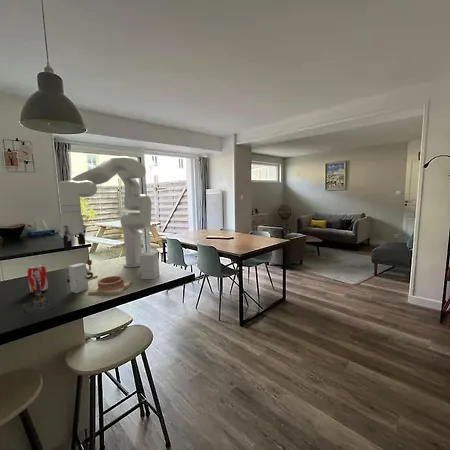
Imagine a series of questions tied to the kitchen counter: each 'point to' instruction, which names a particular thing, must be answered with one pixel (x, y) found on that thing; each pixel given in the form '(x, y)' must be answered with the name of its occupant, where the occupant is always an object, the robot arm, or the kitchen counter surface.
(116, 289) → the collar board
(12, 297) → the kitchen counter surface
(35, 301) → the eiffel tower figurine
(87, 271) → the place setting
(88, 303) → the kitchen counter surface
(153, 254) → the supplement box
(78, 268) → the skincare box
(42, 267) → the soda can
